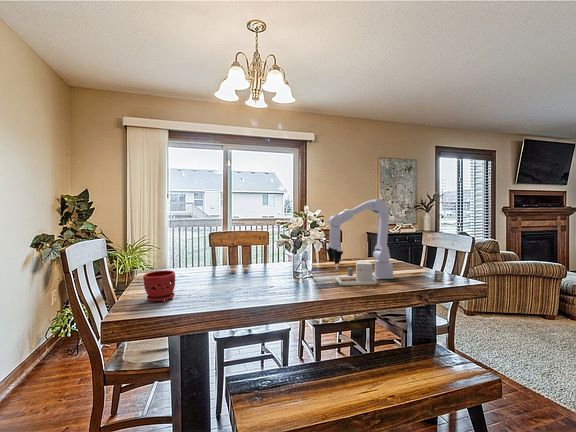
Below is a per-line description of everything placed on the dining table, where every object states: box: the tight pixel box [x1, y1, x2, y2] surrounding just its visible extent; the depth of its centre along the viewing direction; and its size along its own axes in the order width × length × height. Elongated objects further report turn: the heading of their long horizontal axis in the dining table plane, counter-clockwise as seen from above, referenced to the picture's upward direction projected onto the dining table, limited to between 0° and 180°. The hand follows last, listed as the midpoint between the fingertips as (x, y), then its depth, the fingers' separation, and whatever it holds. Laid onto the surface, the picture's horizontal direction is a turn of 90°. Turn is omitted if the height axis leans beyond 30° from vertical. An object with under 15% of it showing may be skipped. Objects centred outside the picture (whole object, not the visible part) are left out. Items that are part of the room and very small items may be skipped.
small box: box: [355, 261, 374, 282], centre depth 171 cm, size 8×6×10 cm
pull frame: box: [334, 267, 379, 286], centre depth 176 cm, size 19×20×5 cm
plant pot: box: [142, 269, 176, 302], centre depth 145 cm, size 13×13×12 cm
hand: (334, 262), depth 178 cm, fingers open, 7 cm apart
